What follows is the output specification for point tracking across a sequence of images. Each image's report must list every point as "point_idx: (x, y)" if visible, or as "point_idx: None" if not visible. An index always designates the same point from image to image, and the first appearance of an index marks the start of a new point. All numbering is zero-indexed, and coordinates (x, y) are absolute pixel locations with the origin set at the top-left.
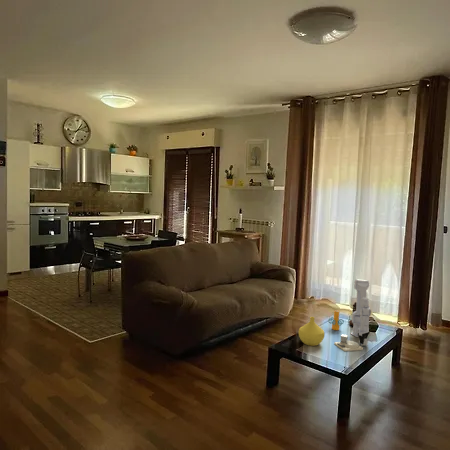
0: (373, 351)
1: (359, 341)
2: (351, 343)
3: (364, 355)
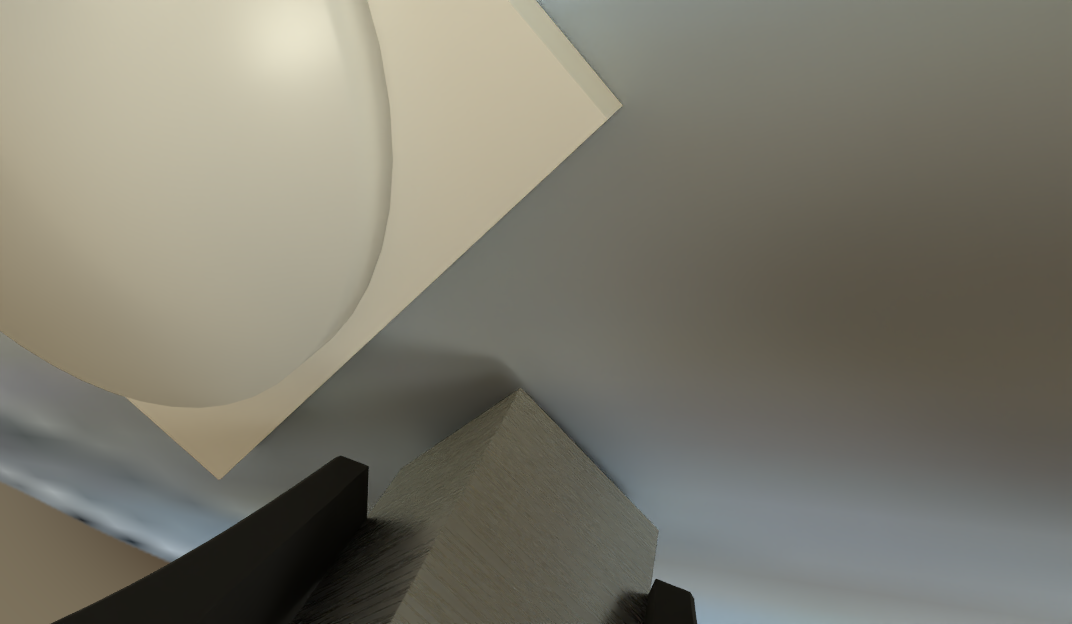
0: None
1: (467, 463)
2: (85, 157)
3: (19, 439)
